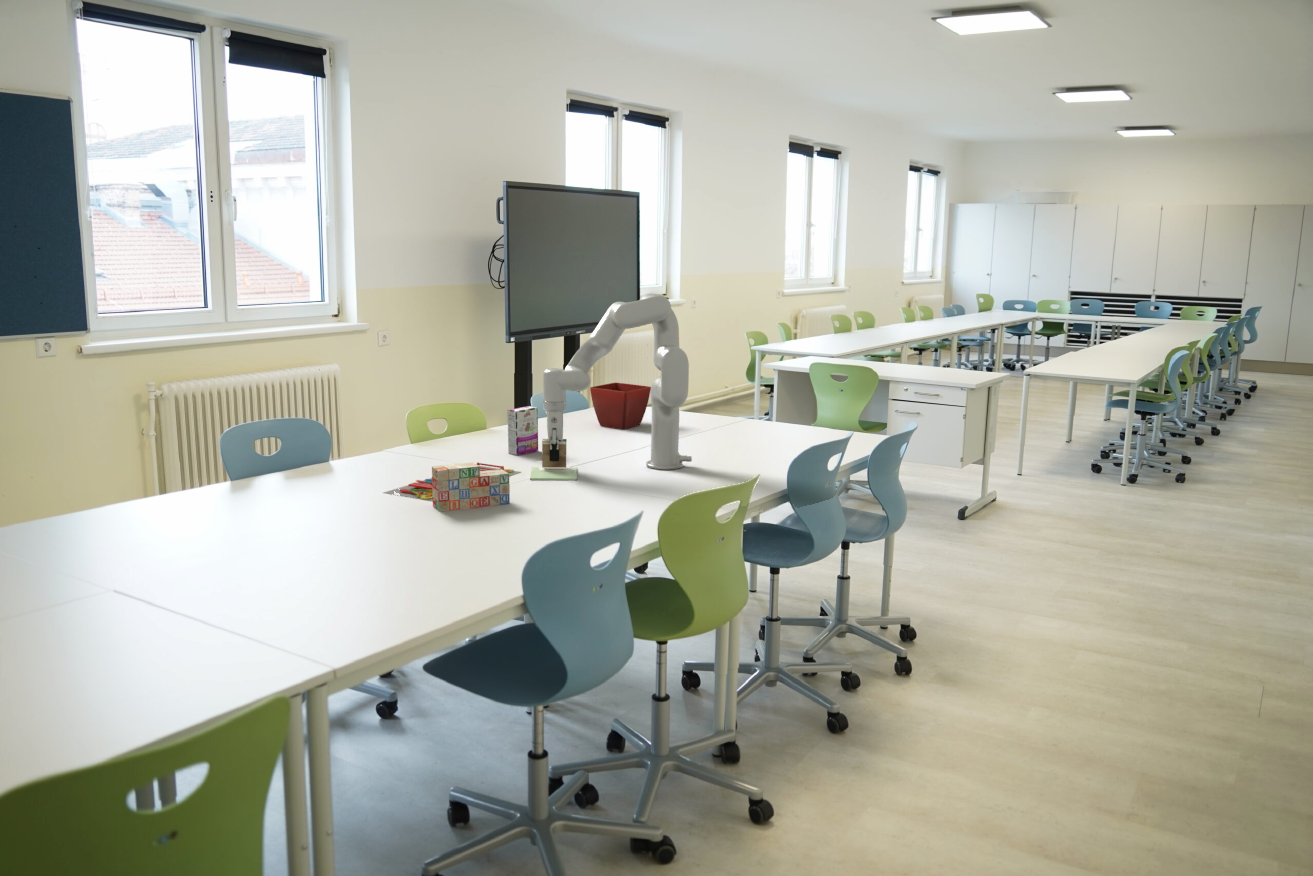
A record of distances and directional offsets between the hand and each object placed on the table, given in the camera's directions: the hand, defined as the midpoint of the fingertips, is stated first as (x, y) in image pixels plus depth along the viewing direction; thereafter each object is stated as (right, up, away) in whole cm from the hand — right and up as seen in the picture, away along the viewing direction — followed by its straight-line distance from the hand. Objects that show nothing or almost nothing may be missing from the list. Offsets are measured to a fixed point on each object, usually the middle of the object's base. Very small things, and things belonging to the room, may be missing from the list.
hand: (554, 459), depth 331 cm
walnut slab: (0, -2, 0) cm, 2 cm away
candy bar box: (-15, +2, +29) cm, 33 cm away
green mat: (0, -5, -4) cm, 7 cm away
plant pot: (+19, +12, +86) cm, 89 cm away
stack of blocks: (-20, -13, -44) cm, 50 cm away
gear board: (-30, -8, -17) cm, 35 cm away
